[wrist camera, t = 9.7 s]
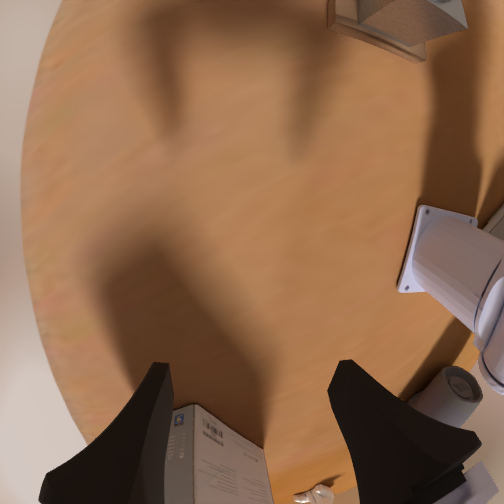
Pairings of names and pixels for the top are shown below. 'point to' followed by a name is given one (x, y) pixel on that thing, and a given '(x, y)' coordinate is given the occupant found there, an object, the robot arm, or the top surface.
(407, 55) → the stand
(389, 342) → the top surface
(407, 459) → the robot arm
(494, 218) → the digital clock
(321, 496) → the seated beast figurine
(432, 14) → the housing
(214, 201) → the top surface
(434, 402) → the bluetooth speaker
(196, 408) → the hard drive box
